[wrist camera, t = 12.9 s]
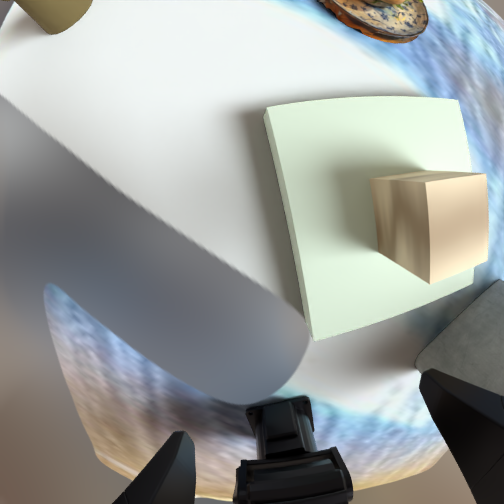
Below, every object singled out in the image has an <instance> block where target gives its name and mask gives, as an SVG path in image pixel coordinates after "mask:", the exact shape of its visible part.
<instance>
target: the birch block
mask: <svg viewBox="0 0 504 504" xmlns="http://www.w3.org/2000/svg"><path fill="white" fill-rule="evenodd" d="M369 180H370V186H371V193H372V199H373V206H374V214H375V222H376V231H377V241H378V253H380V254H382V255H383V256H385V257H387V258H388V259H390V260H392V261H393V262H395V263H396V264H398V265H400V266H401V267H403V268H404V269H406V270H408V271H409V272H411V273H412V274H414V275H416V276H417V277H419V278H420V279H422V280H423V281H425V282H426V283H428V284H429V285H430V284H433V283H435V282H438V281H440V280H443V279H445V278H448V277H450V276H453V275H455V274H458V273H460V272H462V271H465V270H467V269H469V268H472V267H474V266H476V265H479V264H481V263H483V262H485V261H487V257H488V234H489V215H488V192H487V180H486V174H483V173H471V172H455V171H432V170H425V171H417V172H410V173H403V174H396V175H390V176H383V177H377V178H371V179H369Z"/></svg>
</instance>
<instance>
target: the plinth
mask: <svg viewBox="0 0 504 504" xmlns="http://www.w3.org/2000/svg"><path fill="white" fill-rule="evenodd" d="M263 120H264V124H265V128H266V132H267V136H268V140H269V144H270V148H271V152H272V157H273V161H274V165H275V170H276V174H277V178H278V183H279V187H280V192H281V197H282V201H283V206H284V211H285V215H286V220H287V225H288V230H289V235H290V240H291V245H292V250H293V255H294V260H295V266H296V271H297V276H298V282H299V287H300V293H301V299H302V305H303V310H304V316H305V322H306V324H307V327H308V329H309V331H310V334H311V336H312V338H313V341H314V342H315V341H318V340H322V339H326V338H329V337H333V336H336V335H340V334H343V333H346V332H350V331H353V330H356V329H359V328H362V327H365V326H368V325H371V324H374V323H377V322H380V321H383V320H386V319H389V318H392V317H394V316H397V315H400V314H403V313H405V312H408V311H410V310H413V309H416V308H418V307H421V306H423V305H426V304H428V303H430V302H433V301H435V300H438V299H440V298H442V297H445V296H447V295H449V294H451V293H454V292H456V291H458V290H460V289H462V288H464V287H467V286H469V285H471V284H473V277H474V267H472V268H469V269H467V270H465V271H462V272H460V273H458V274H455V275H453V276H450V277H448V278H445V279H443V280H440V281H438V282H435V283H433V284H430V285H429V284H428V283H426V282H425V281H423V280H422V279H420V278H419V277H417V276H416V275H414V274H412V273H411V272H409V271H408V270H406V269H404V268H403V267H401V266H400V265H398V264H396V263H395V262H393V261H392V260H390V259H388V258H387V257H385V256H383V255H382V254H380V253H378V241H377V231H376V222H375V214H374V206H373V199H372V193H371V186H370V180H369V179H371V178H377V177H383V176H390V175H396V174H403V173H410V172H417V171H425V170H432V171H455V172H471V173H472V168H471V161H470V154H469V148H468V142H467V137H466V132H465V127H464V123H463V119H462V114H461V110H460V107H459V103H458V100H453V99H443V98H430V97H411V96H366V97H346V98H333V99H322V100H313V101H304V102H297V103H290V104H283V105H277V106H271V107H267V108H266V111H265V114H264V117H263Z"/></svg>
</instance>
